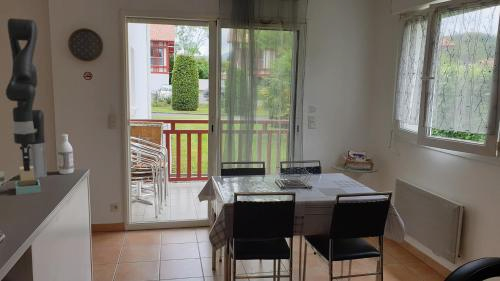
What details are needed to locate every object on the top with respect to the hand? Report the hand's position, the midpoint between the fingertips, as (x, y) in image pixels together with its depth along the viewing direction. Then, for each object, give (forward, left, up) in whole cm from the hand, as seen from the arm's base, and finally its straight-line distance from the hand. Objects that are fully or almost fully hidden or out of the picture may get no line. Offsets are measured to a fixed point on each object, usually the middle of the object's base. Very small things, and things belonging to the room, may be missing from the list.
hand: (26, 168), depth 165 cm
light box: (0, 0, -4) cm, 4 cm away
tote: (0, 0, -10) cm, 10 cm away
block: (0, 0, -9) cm, 9 cm away
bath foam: (-11, +32, -10) cm, 35 cm away
